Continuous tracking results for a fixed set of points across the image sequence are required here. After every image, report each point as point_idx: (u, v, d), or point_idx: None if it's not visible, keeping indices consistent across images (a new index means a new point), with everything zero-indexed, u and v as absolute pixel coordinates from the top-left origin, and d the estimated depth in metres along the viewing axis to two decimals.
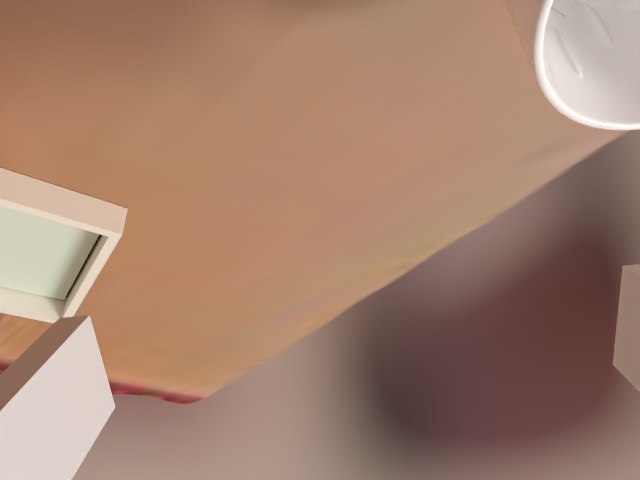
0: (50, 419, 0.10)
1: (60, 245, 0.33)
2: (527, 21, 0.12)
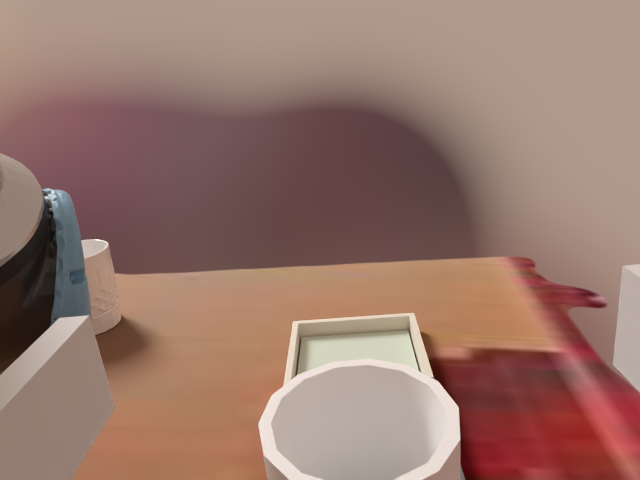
0: (50, 419, 0.10)
1: (342, 343, 0.53)
2: (87, 262, 0.58)
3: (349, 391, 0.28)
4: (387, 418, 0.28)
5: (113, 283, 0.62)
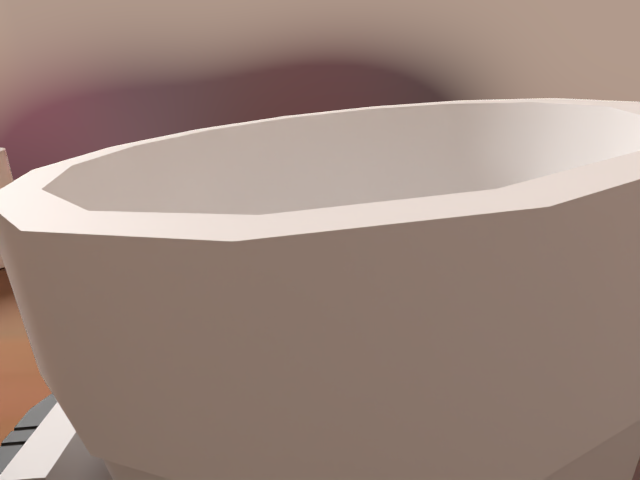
0: None
1: None
2: None
3: (323, 181, 0.12)
4: None
5: None
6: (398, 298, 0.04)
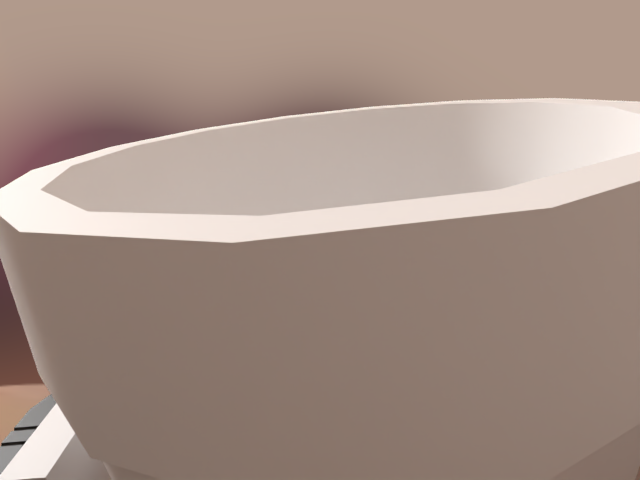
0: None
1: None
2: None
3: (323, 181, 0.12)
4: None
5: None
6: (400, 301, 0.04)
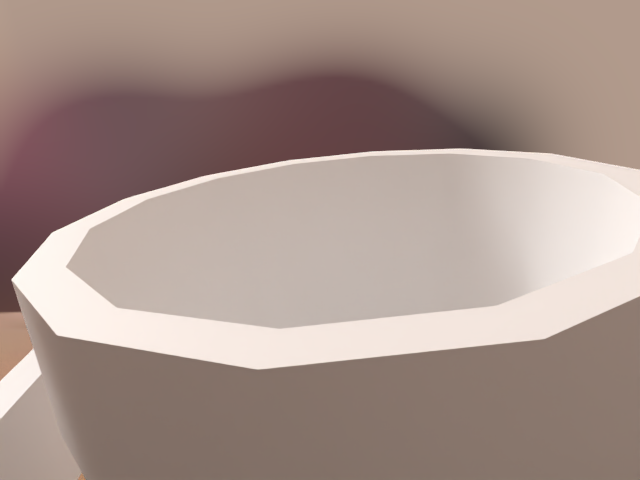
0: None
1: None
2: None
3: (328, 224, 0.12)
4: (415, 284, 0.12)
5: None
6: (408, 417, 0.04)
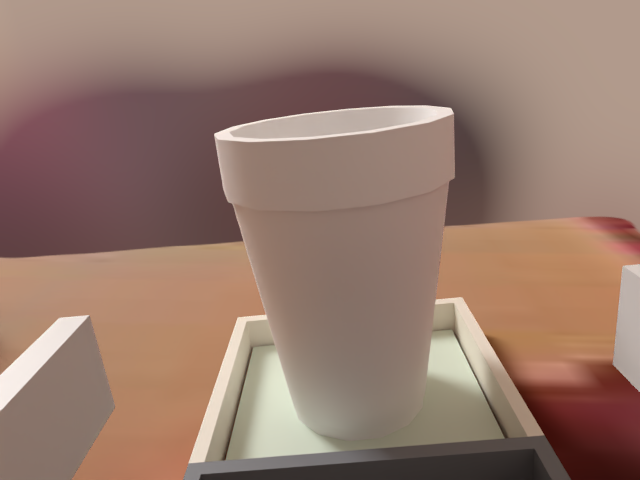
0: (50, 419, 0.10)
1: None
2: None
3: None
4: None
5: None
6: (343, 153, 0.16)
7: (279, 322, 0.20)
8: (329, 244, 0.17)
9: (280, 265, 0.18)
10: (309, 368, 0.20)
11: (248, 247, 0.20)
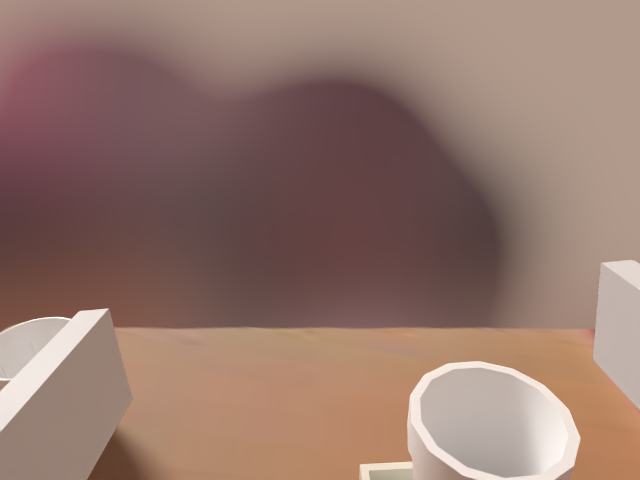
0: (74, 409, 0.11)
1: None
2: None
3: (461, 387, 0.34)
4: (489, 409, 0.34)
5: None
6: None
7: None
8: None
9: None
10: None
11: None
